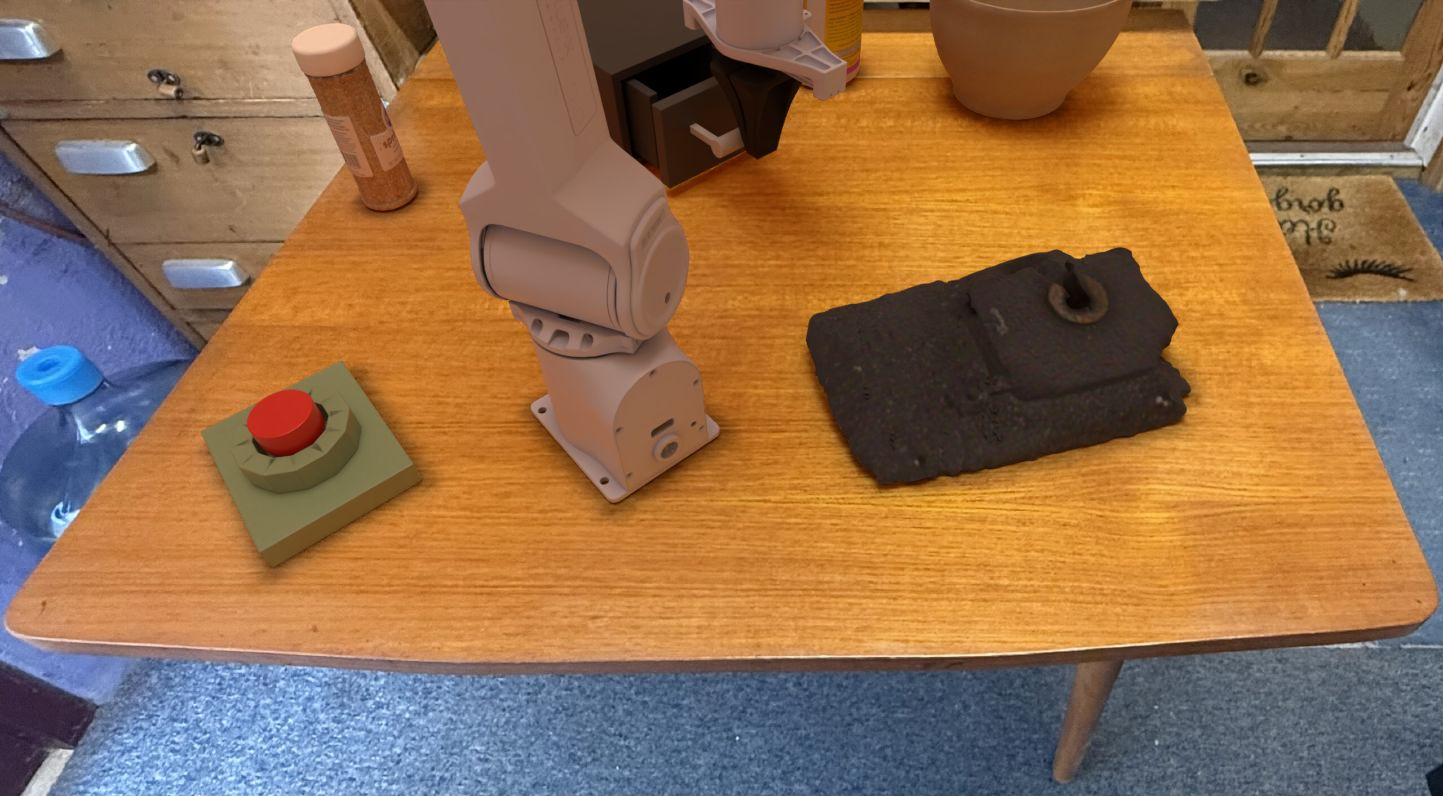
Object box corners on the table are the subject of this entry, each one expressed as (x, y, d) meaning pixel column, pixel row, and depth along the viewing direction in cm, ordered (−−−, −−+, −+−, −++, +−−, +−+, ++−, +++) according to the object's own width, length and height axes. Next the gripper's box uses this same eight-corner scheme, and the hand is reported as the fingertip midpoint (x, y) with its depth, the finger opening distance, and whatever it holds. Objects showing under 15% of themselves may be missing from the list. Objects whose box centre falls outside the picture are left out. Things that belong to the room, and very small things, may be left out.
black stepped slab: (782, 321, 56) (782, 267, 52) (1079, 256, 59) (1098, 200, 55) (863, 503, 46) (870, 452, 43) (1216, 414, 49) (1251, 359, 45)
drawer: (804, 160, 67) (806, 80, 62) (702, 213, 63) (695, 133, 58) (680, 84, 76) (673, 9, 71) (584, 127, 72) (569, 51, 67)
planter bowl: (1084, 49, 78) (1120, -77, 69) (1120, 145, 67) (1167, 10, 59) (910, 50, 79) (925, -73, 71) (918, 143, 69) (936, 12, 61)
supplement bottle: (868, 61, 78) (880, -87, 69) (846, 96, 75) (855, -56, 65) (801, 51, 80) (804, -95, 71) (776, 84, 77) (775, -65, 67)
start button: (334, 434, 48) (322, 415, 46) (273, 467, 46) (258, 448, 45) (312, 398, 49) (299, 379, 48) (252, 429, 48) (237, 410, 47)
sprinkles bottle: (426, 199, 68) (364, 37, 57) (372, 220, 66) (298, 58, 56) (408, 173, 70) (344, 14, 60) (355, 193, 69) (281, 33, 59)
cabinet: (735, 121, 73) (731, 24, 66) (627, 173, 68) (610, 75, 62) (646, 66, 80) (634, -26, 74) (543, 110, 76) (521, 16, 69)
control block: (423, 480, 49) (402, 444, 46) (273, 568, 45) (241, 534, 43) (351, 377, 55) (329, 339, 52) (214, 448, 51) (183, 412, 49)
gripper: (889, -27, 49) (870, 170, 59) (734, -89, 57) (741, 95, 67) (800, 12, 46) (796, 211, 57) (650, -59, 54) (671, 128, 64)
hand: (762, 151), depth 62 cm, fingers closed
